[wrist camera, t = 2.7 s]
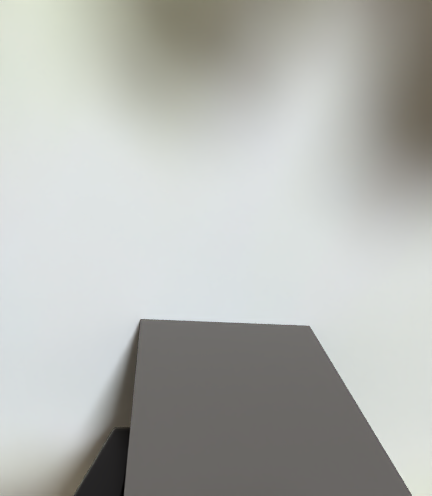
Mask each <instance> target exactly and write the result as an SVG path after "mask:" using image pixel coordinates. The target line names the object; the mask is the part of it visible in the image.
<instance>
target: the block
mask: <svg viewBox="0 0 432 496" xmlns="http://www.w3.org/2000/svg"><path fill="white" fill-rule="evenodd" d="M124 496H412V495H411V493H410V491H409V490H408V488H407V486H406V485H405V483H404V481H403V480H402V478H401V476H400V475H399V473H398V471H397V470H396V468H395V467H394V465H393V463H392V462H391V460H390V458H389V457H388V455H387V453H386V452H385V450H384V448H383V447H382V445H381V443H380V442H379V440H378V438H377V437H376V435H375V433H374V432H373V430H372V429H371V427H370V425H369V424H368V422H367V420H366V419H365V417H364V415H363V414H362V412H361V410H360V409H359V407H358V405H357V404H356V402H355V400H354V399H353V397H352V395H351V394H350V392H349V391H348V389H347V387H346V386H345V384H344V382H343V381H342V379H341V377H340V376H339V374H338V372H337V371H336V369H335V367H334V366H333V364H332V362H331V361H330V359H329V357H328V356H327V354H326V353H325V351H324V349H323V348H322V346H321V344H320V343H319V341H318V339H317V338H316V336H315V334H314V333H313V331H312V329H311V328H310V326H297V325H272V324H248V323H223V322H198V321H173V320H149V319H141V321H140V331H139V342H138V352H137V363H136V373H135V384H134V394H133V405H132V415H131V426H130V436H129V447H128V457H127V468H126V478H125V489H124Z"/></svg>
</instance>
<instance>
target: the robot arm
mask: <svg viewBox="0 0 432 496" xmlns="http://www.w3.org/2000/svg"><path fill="white" fill-rule="evenodd" d="M129 436H130V427H116V428H114V429H113V430H112V432H111V434H110V435H109V437H108V439H107V440H106V442H105V444H104V445H103V447H102V449H101V450H100V452H99V454H98V455H97V457H96V459H95V460H94V462H93V464H92V465H91V467H90V469H89V470H88V472H87V474H86V475H85V477H84V479H83V480H82V482H81V484H80V485H79V487H78V489H77V490H76V492H75V494H74V495H73V496H124V489H125V478H126V468H127V457H128V447H129Z"/></svg>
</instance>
